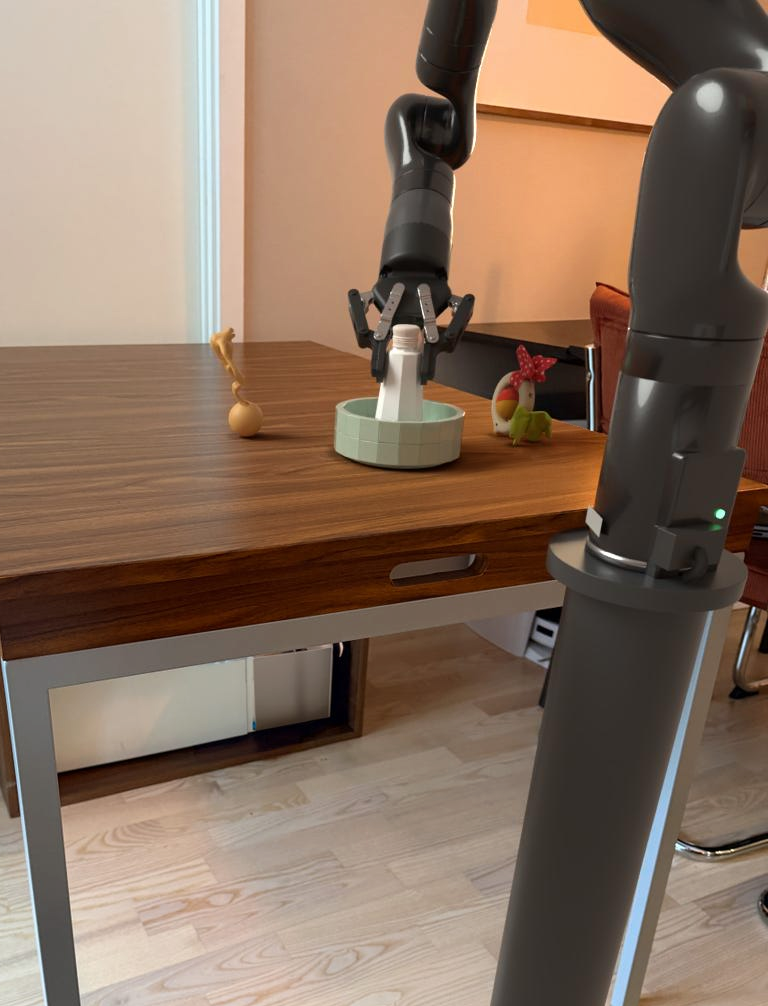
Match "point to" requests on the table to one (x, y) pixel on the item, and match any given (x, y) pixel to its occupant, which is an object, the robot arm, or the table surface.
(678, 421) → the robot arm
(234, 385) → the figurine
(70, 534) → the table surface
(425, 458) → the bowl
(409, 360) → the pepper shaker
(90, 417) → the table surface
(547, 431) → the bird rattle
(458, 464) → the table surface
